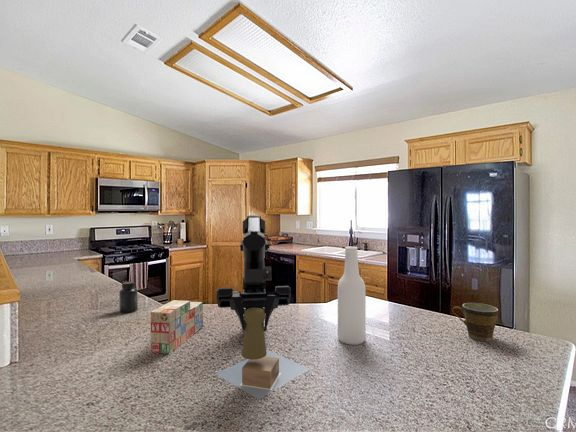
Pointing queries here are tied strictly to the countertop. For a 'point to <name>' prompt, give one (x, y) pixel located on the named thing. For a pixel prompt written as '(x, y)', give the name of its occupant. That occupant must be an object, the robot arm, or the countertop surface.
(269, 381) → the walnut block
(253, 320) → the olive pawn
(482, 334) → the ceramic cup
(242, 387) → the mat
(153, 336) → the stack of blocks
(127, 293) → the supplement bottle
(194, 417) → the countertop surface
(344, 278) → the alcohol
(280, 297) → the robot arm
